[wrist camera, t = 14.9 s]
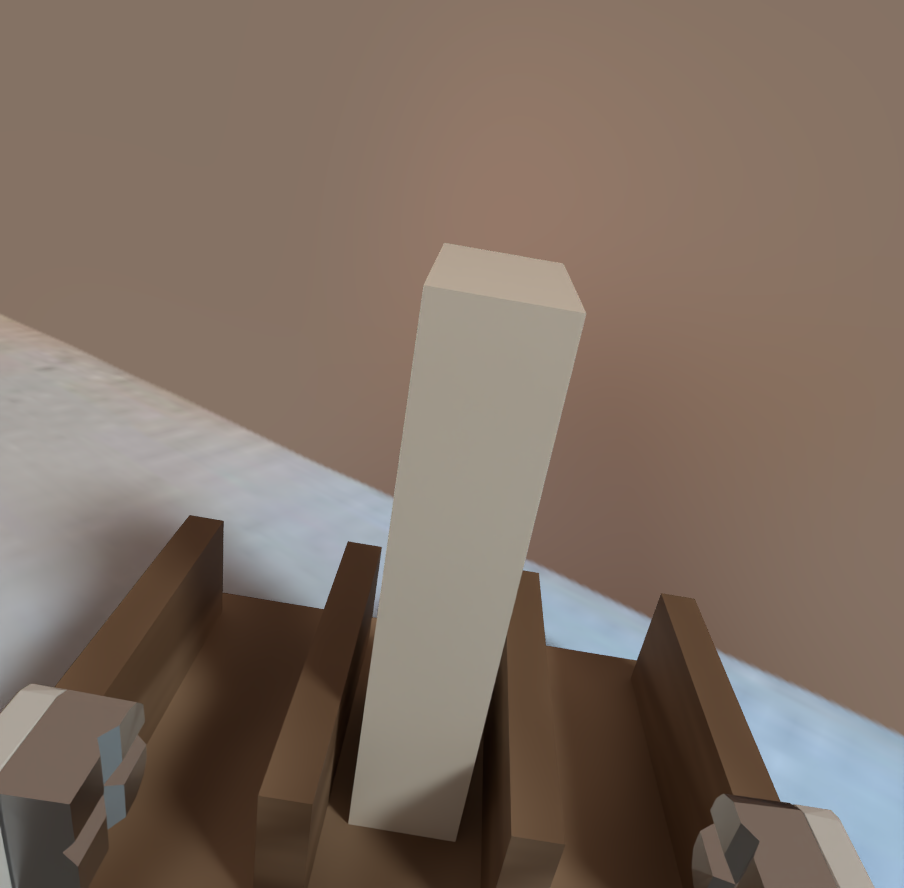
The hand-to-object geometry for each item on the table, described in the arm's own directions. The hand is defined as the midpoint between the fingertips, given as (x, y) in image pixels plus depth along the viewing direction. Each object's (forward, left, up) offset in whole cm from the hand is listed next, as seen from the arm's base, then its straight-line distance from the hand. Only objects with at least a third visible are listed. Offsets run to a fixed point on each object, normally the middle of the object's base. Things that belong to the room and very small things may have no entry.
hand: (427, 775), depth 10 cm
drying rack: (0, +8, -11) cm, 14 cm away
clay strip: (0, +8, -9) cm, 12 cm away
